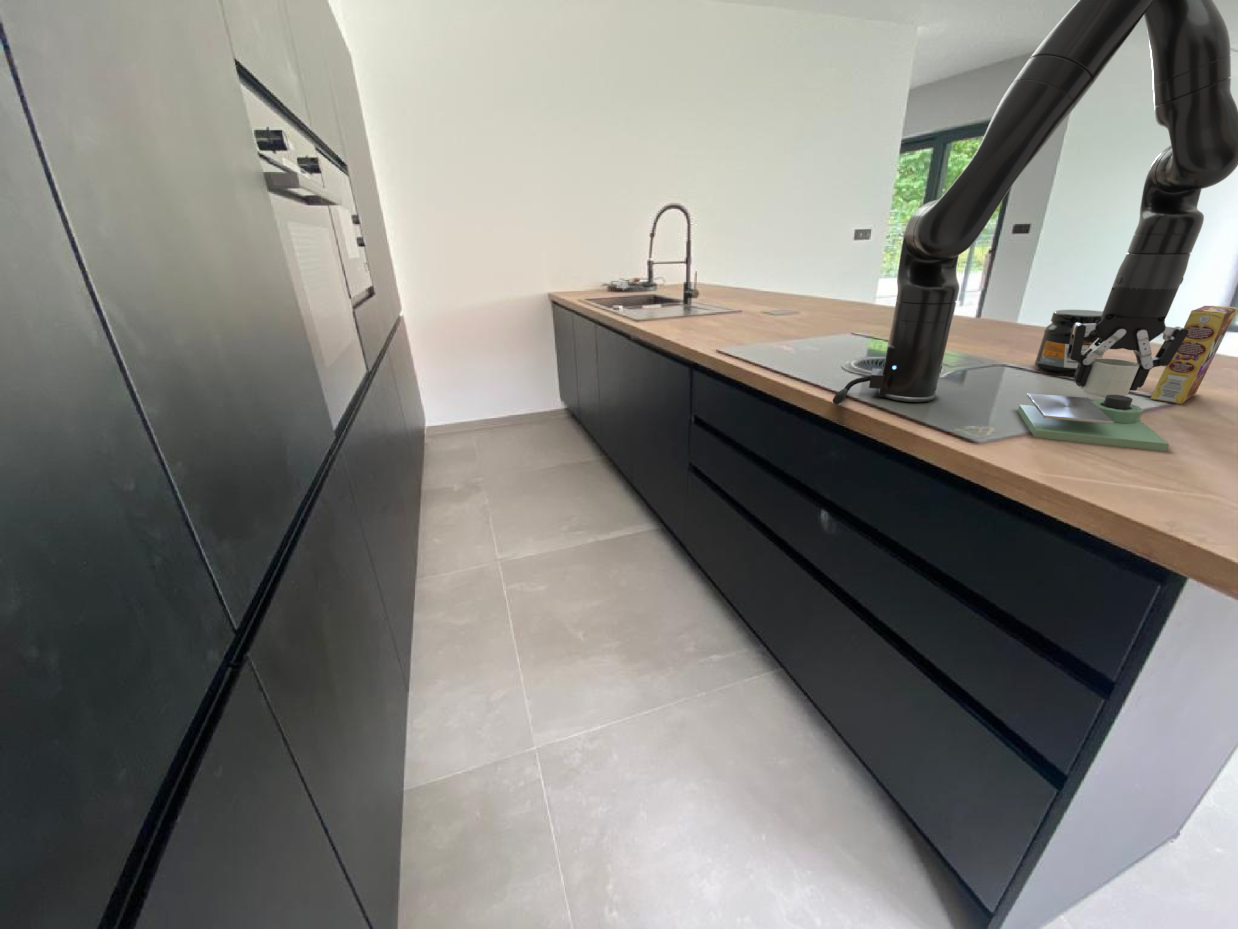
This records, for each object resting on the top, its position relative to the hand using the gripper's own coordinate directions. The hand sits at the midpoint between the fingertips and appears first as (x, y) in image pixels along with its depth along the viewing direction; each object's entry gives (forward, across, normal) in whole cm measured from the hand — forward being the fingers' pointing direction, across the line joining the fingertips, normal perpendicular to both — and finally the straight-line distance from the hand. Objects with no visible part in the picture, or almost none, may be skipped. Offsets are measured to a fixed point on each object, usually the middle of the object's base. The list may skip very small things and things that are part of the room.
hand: (1104, 387), depth 86 cm
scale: (+3, +6, +16) cm, 17 cm away
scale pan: (0, +9, +16) cm, 18 cm away
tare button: (0, +2, +12) cm, 12 cm away
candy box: (+3, -12, -8) cm, 15 cm away
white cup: (+1, 0, 0) cm, 1 cm away
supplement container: (+3, 0, -24) cm, 24 cm away
